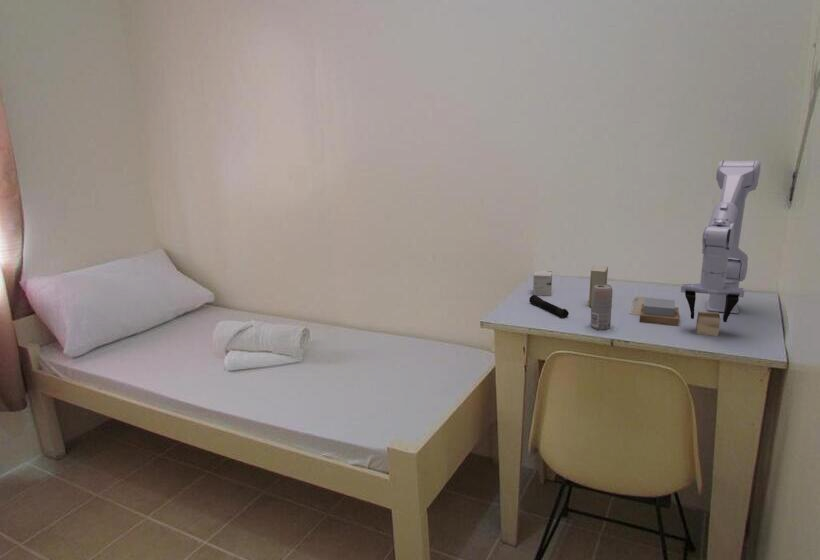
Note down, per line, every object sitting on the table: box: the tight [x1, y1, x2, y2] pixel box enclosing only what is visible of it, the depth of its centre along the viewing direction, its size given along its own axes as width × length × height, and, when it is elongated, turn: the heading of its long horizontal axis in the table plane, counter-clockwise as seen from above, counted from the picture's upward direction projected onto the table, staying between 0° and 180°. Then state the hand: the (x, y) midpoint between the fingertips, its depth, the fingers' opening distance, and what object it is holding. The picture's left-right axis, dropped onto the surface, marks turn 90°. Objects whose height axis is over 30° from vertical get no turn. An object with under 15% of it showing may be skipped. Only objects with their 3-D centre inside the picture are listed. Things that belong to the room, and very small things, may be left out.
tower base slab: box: [639, 304, 680, 327], centre depth 153 cm, size 10×10×2 cm
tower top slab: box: [643, 297, 676, 317], centre depth 152 cm, size 8×8×2 cm
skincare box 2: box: [588, 265, 609, 307], centre depth 165 cm, size 6×4×12 cm
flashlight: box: [529, 294, 570, 319], centre depth 164 cm, size 3×16×3 cm, turn 22°
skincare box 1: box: [532, 270, 553, 297], centre depth 180 cm, size 6×6×7 cm
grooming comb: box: [629, 296, 648, 317], centre depth 163 cm, size 18×10×1 cm, turn 149°
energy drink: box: [590, 283, 613, 330], centre depth 147 cm, size 5×5×12 cm
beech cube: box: [695, 310, 721, 337], centre depth 141 cm, size 5×5×5 cm
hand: (708, 319), depth 141 cm, fingers open, 7 cm apart
